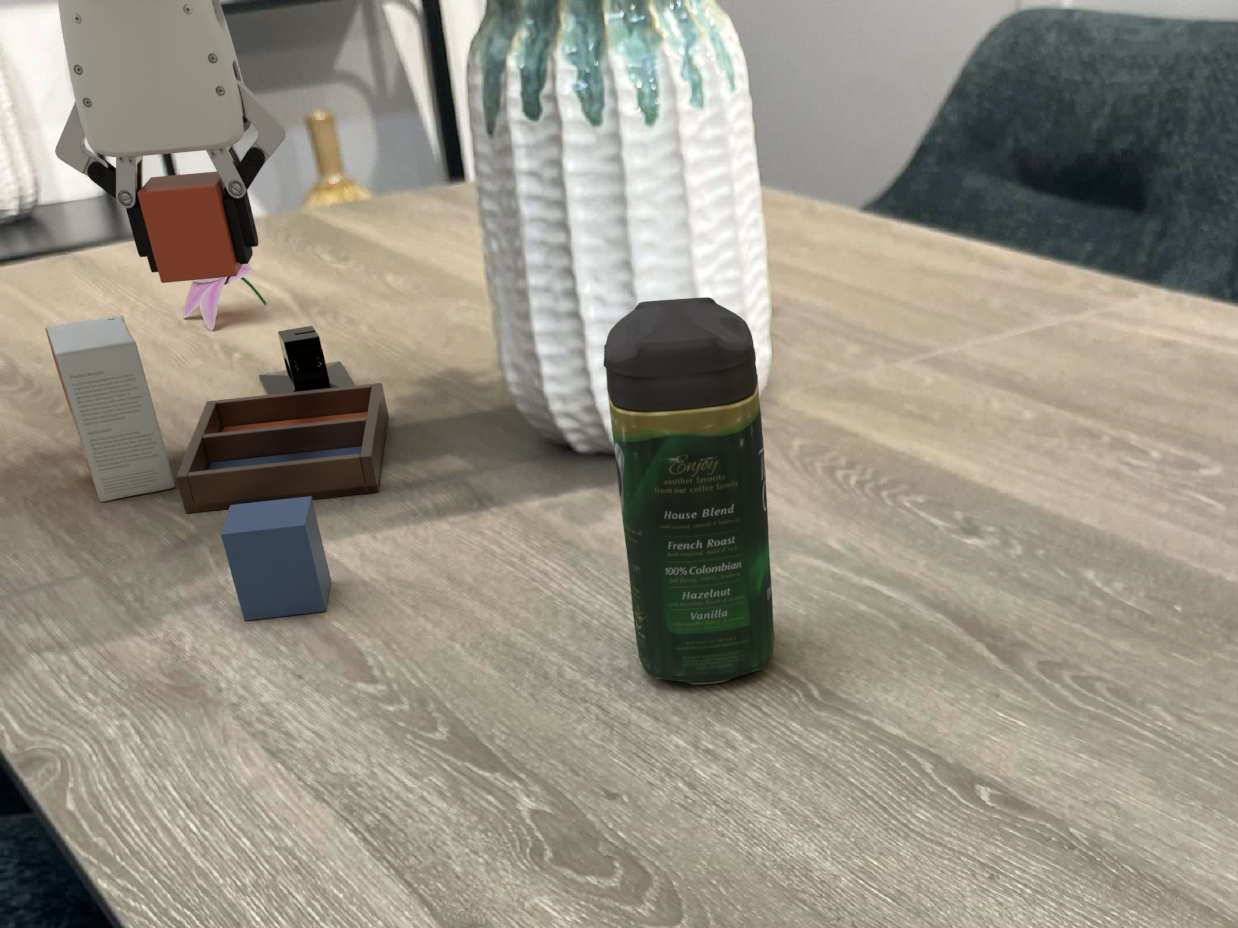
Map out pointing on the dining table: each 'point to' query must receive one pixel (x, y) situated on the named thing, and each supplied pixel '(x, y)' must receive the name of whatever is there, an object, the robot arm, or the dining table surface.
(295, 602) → the blue block
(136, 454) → the small box
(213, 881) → the dining table surface
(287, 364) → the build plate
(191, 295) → the lily
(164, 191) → the terracotta block
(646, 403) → the coffee jar
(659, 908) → the dining table surface
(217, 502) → the sorting tray
